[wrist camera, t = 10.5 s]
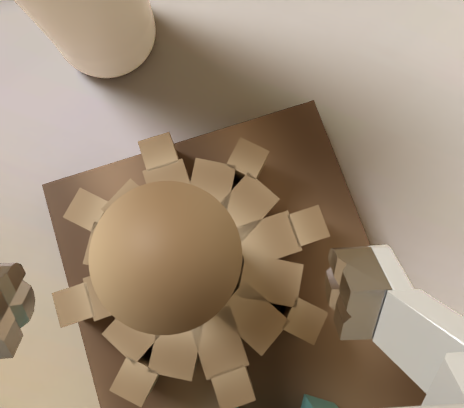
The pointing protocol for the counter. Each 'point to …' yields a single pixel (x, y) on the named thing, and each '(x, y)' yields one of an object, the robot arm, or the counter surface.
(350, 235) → the gear board
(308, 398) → the gear
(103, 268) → the loose gear
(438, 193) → the counter surface
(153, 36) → the drinking glass
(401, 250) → the counter surface
